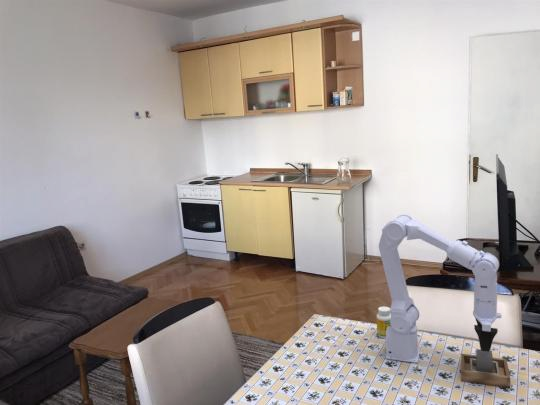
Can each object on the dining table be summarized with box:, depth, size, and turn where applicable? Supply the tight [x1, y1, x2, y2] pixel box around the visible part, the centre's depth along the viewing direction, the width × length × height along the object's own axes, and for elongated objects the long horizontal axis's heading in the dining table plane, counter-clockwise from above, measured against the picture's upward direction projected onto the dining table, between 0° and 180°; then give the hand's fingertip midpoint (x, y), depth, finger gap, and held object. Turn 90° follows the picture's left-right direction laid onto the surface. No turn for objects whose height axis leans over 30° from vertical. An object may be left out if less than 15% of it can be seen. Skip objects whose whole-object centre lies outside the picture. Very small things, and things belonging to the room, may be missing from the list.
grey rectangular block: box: [475, 348, 494, 373], centre depth 126 cm, size 4×4×6 cm
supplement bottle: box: [376, 306, 391, 339], centre depth 153 cm, size 5×5×10 cm
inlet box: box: [460, 353, 511, 389], centre depth 126 cm, size 12×10×3 cm
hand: (484, 343), depth 125 cm, fingers open, 7 cm apart
